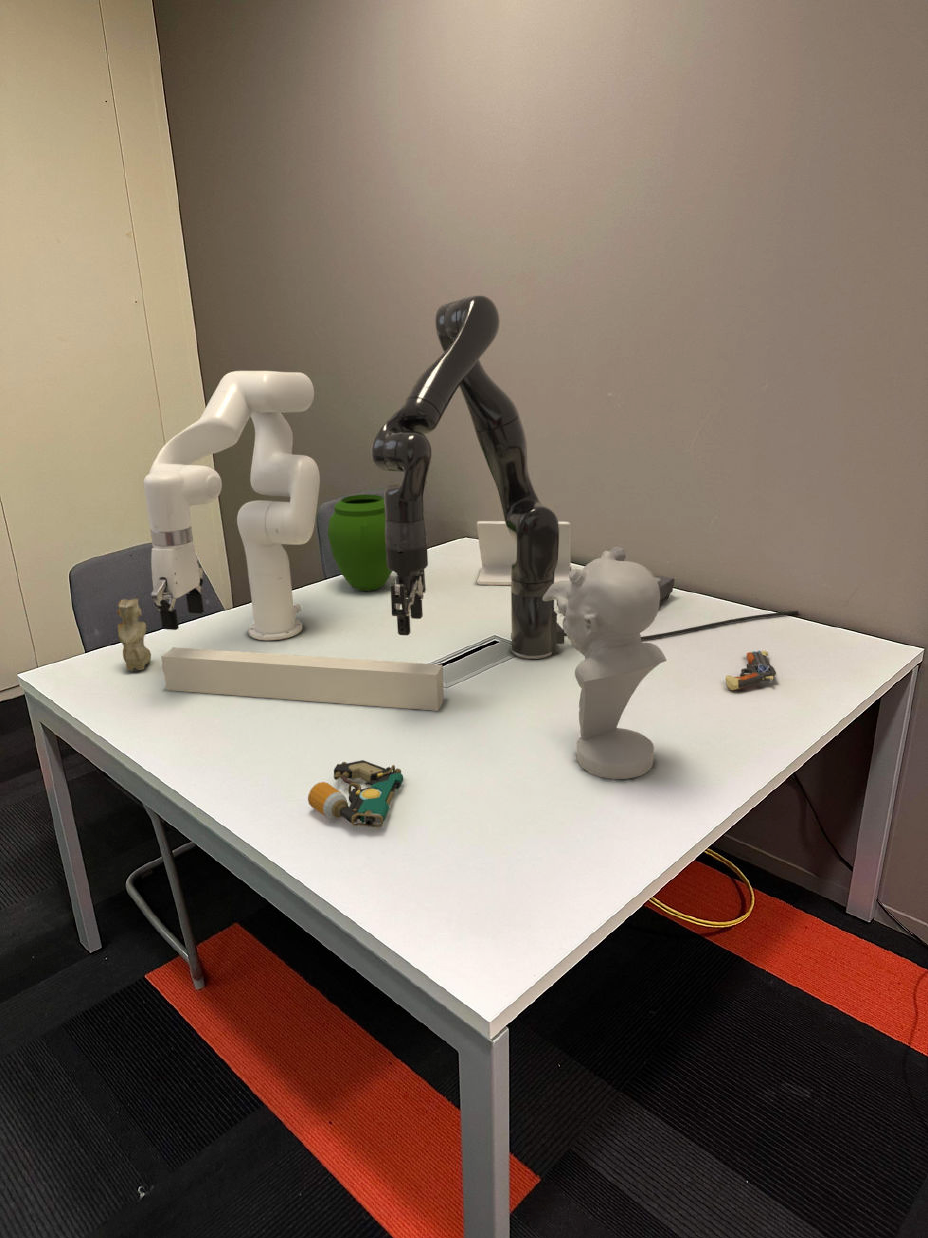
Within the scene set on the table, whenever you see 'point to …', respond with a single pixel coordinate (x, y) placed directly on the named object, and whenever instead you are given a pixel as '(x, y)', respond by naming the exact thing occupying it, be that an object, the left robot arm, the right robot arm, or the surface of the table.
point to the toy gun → (753, 671)
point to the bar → (305, 678)
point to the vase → (360, 541)
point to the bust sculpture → (610, 658)
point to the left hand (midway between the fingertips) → (183, 620)
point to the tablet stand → (513, 553)
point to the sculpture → (132, 635)
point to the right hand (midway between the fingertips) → (410, 626)
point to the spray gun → (358, 793)
